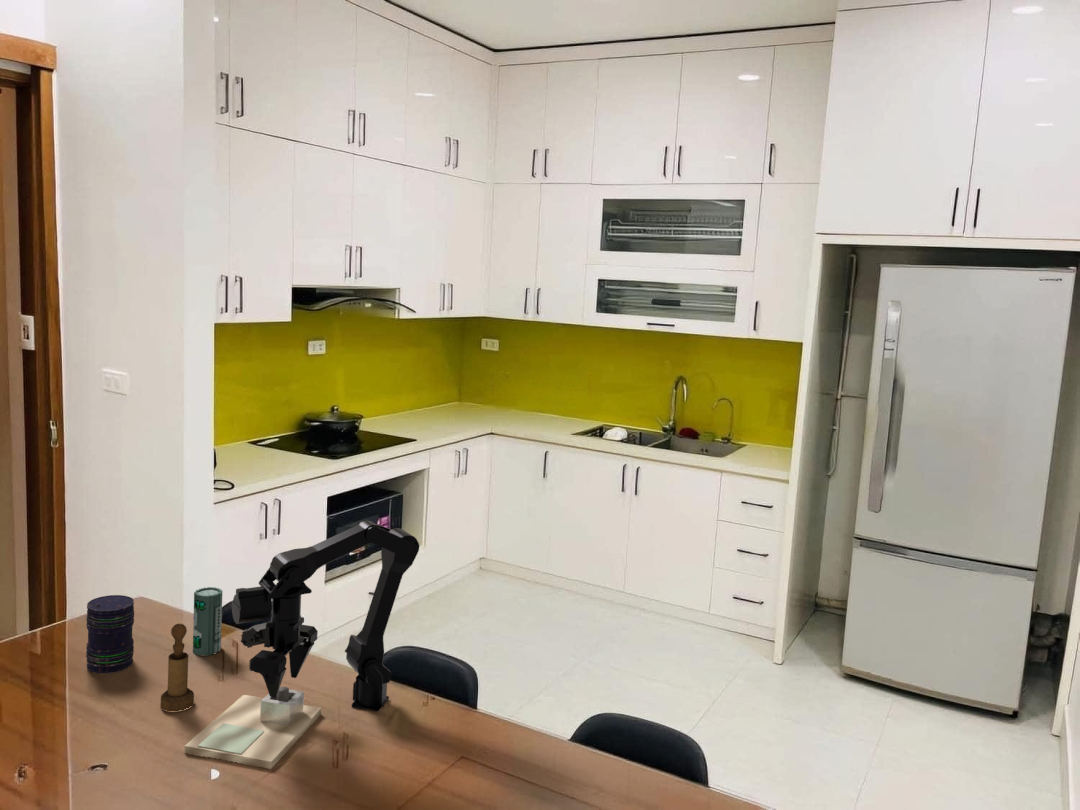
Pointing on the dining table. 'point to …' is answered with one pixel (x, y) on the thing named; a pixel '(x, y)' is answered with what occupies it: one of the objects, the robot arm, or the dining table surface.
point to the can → (207, 621)
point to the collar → (282, 709)
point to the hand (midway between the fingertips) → (283, 687)
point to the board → (251, 733)
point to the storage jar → (110, 633)
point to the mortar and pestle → (177, 675)
